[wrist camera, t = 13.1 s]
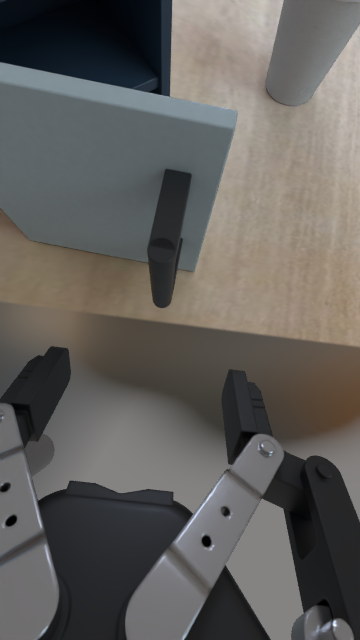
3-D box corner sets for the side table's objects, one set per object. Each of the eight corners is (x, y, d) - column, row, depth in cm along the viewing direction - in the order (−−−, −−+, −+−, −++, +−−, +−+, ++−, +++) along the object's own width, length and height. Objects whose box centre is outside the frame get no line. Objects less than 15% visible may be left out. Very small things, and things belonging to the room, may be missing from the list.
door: (184, 325, 25) (216, 241, 10) (12, 292, 25) (-210, 159, 10) (196, 262, 27) (238, 109, 12) (32, 230, 26) (-135, 33, 12)
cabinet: (168, 160, 29) (174, -82, 14) (28, 230, 27) (-151, 25, 11) (114, 86, 31) (68, -202, 16) (-22, 145, 28) (-237, -133, 13)
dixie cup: (337, 104, 32) (413, -16, 22) (273, 123, 31) (324, 4, 21) (304, 51, 34) (362, -84, 24) (242, 66, 33) (276, -69, 23)
